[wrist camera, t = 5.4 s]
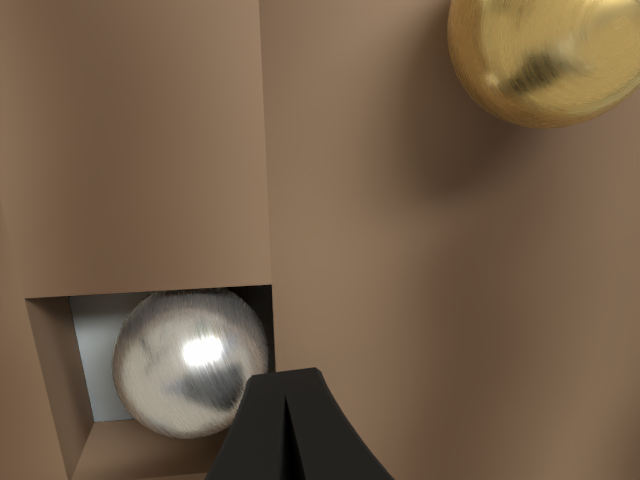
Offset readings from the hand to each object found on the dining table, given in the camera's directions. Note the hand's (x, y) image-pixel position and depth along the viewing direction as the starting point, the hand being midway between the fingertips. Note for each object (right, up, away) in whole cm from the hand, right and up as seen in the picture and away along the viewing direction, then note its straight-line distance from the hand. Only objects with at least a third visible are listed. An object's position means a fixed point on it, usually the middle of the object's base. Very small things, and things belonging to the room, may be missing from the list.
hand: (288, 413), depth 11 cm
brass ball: (+4, +6, -3) cm, 8 cm away
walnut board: (+1, +1, +3) cm, 3 cm away
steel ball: (-2, +1, +1) cm, 2 cm away
